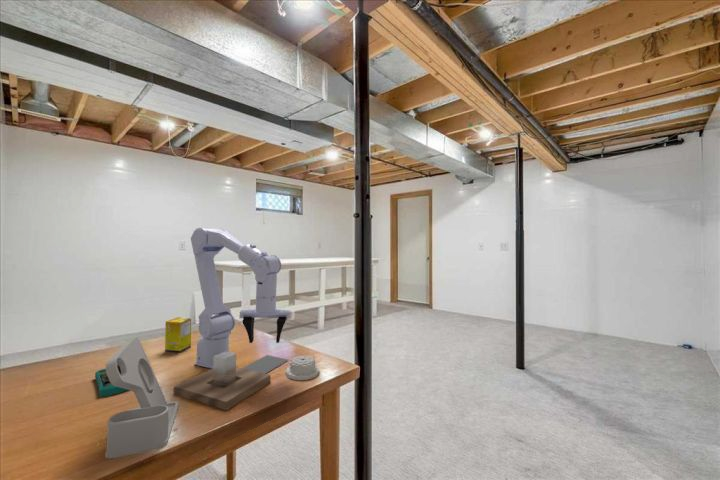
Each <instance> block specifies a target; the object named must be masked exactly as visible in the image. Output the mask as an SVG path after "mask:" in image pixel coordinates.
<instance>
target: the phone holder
mask: <svg viewBox="0 0 720 480" xmlns="http://www.w3.org/2000/svg"><path fill="white" fill-rule="evenodd" d="M143 347H144V346H143V345H142V343H141V341H140V339H139V338H138V337H134V338H131V339H129V340H126V342H124V344H123V345H121V347H119V348H118V350H116V352H115V353H114V354H113V355H112V356H111V357H110V358H109V359H108V360H107V361H106V363H105V369H106V373H107V376H108V378H109V380H110V382H111V384H112V385H113V386H116V387H120V388H124V389H127V390H128V391H131V392H133V394H134V395H135V398H136V399H137V403H138V404H139V406H138V407H137V406H136V407H135V408H132V409H129V410H124V411H120V412H117V413H115V414H114V415H112V416H110V418H109V419H107V427H106V428H107V429H106V451H105V453H104V456H105V457H106V458H105V459H107V458H109V459H108V460H111V458H113V459H116V458H121V457H126V456H131V455H134V454H140V453H145V452H151V451H155V450H158V449H162V448H164V447H166V446H167V445H168V443H169V441H170V437H171V433H172V430H173V427H174V423H175V420H176V416H177V413H178V410H179V406H180V402H179V401H169V402H167V400H166V397H165V395H164V392H163V391H162V389H161V385H160V384H159V382H158V379H157V376H156V375H155V372H154V370H153V367H152V365H151V363H150V360H149V358H148V356H147V354H146V351H145V349H144V348H143Z"/></svg>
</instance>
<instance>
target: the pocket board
mask: <svg viewBox="0 0 720 480" xmlns="http://www.w3.org/2000/svg"><path fill="white" fill-rule="evenodd" d="M269 383H271V374H268V373H267V374H264V373H260V372H256V371H252V370H247V369H243V367H239V366H236V382H234V383H232V384H230V385H229V386H227V387H225V388H222V387H218V386H215V385H213V369H211V368H210V369H208V370H207V371H204V372H203V373H200V374H198V375H196V376H194V377H191V378H188V379H187V380H185V381H183V382H181V383H179V384H177V385H174V386H173V395H176V396H179V397H182V398H185V399H188V400H191V401H195V402H198V403H202V404H204V405H208V406H209V407H210V406H211V407H214V408H217V409H220V410H224V411H227V410H230V409H231V408H232V407H233V406H235V405H237V404H238V403H240V402H241V401H243V400H244V399H246V398H248V397H249V396H251V395H252V394H254V393H255V392H257V391H258V390H260V389H261V388H263V387H265V386H266V385H268V384H269Z"/></svg>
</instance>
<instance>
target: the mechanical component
mask: <svg viewBox="0 0 720 480" xmlns="http://www.w3.org/2000/svg"><path fill="white" fill-rule="evenodd" d="M289 361H290V362H289V366H287V368H286V369H285V376H286V377H287V378H288V379H291V380H293V381H306V380H307V381H308V380H311V379H314V378H316V377H317V376H318V375H319V373H320V367H319V366H318V365H317V364H316V359H315V357H314V356H313V357H312V356H311V355H304V354H303V355H297V356H295V357H292V358H291V359H290V360H289Z"/></svg>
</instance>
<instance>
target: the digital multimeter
mask: <svg viewBox="0 0 720 480" xmlns="http://www.w3.org/2000/svg"><path fill="white" fill-rule="evenodd" d="M94 375H95V376H94V377H95V378H96V380H95V382H96V381H97V382H96V384H97V383H98V384H97V387H99V388H98V394H99V395H100V396H99V397H100V398H103V397H102V396H104V397H108V396H113V394H114V395H116V394H117V393H118V394H121V393H124V391H125V392H127V389H124V388H120V387H116V386H113V385H112V384H111V382H110V380H109V378H108V376H107V373H106V368H103V369H98V370H97V371H95V373H94Z"/></svg>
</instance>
